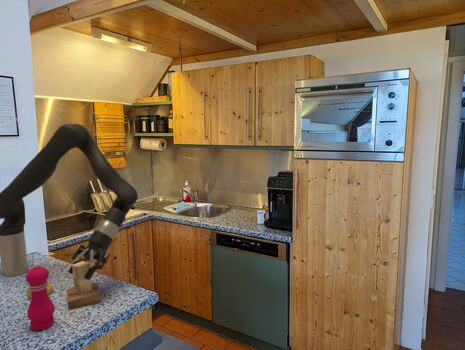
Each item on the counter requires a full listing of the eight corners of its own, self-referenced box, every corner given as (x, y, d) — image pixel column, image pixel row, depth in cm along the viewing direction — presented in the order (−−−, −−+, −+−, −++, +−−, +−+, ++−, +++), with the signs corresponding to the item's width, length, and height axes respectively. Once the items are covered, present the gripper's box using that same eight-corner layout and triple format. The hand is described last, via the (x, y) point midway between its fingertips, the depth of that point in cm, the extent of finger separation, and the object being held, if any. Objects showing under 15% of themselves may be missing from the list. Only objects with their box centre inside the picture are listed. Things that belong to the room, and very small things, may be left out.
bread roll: (30, 302, 115) (29, 291, 114) (25, 293, 122) (24, 282, 121) (56, 294, 120) (55, 284, 120) (50, 285, 127) (49, 276, 126)
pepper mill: (36, 318, 105) (29, 258, 102) (59, 317, 105) (54, 257, 102) (23, 332, 97) (16, 268, 95) (49, 331, 98) (43, 266, 95)
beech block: (74, 292, 115) (72, 265, 114) (84, 287, 118) (82, 260, 117) (81, 295, 113) (79, 267, 112) (91, 290, 116) (89, 263, 115)
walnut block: (67, 296, 118) (66, 289, 118) (97, 290, 123) (96, 282, 122) (68, 310, 109) (68, 301, 109) (101, 302, 114) (100, 293, 114)
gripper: (85, 226, 123) (58, 267, 115) (110, 232, 115) (83, 276, 107) (98, 236, 128) (73, 276, 120) (123, 242, 121) (99, 285, 113)
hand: (78, 276), depth 114 cm, fingers open, 8 cm apart
